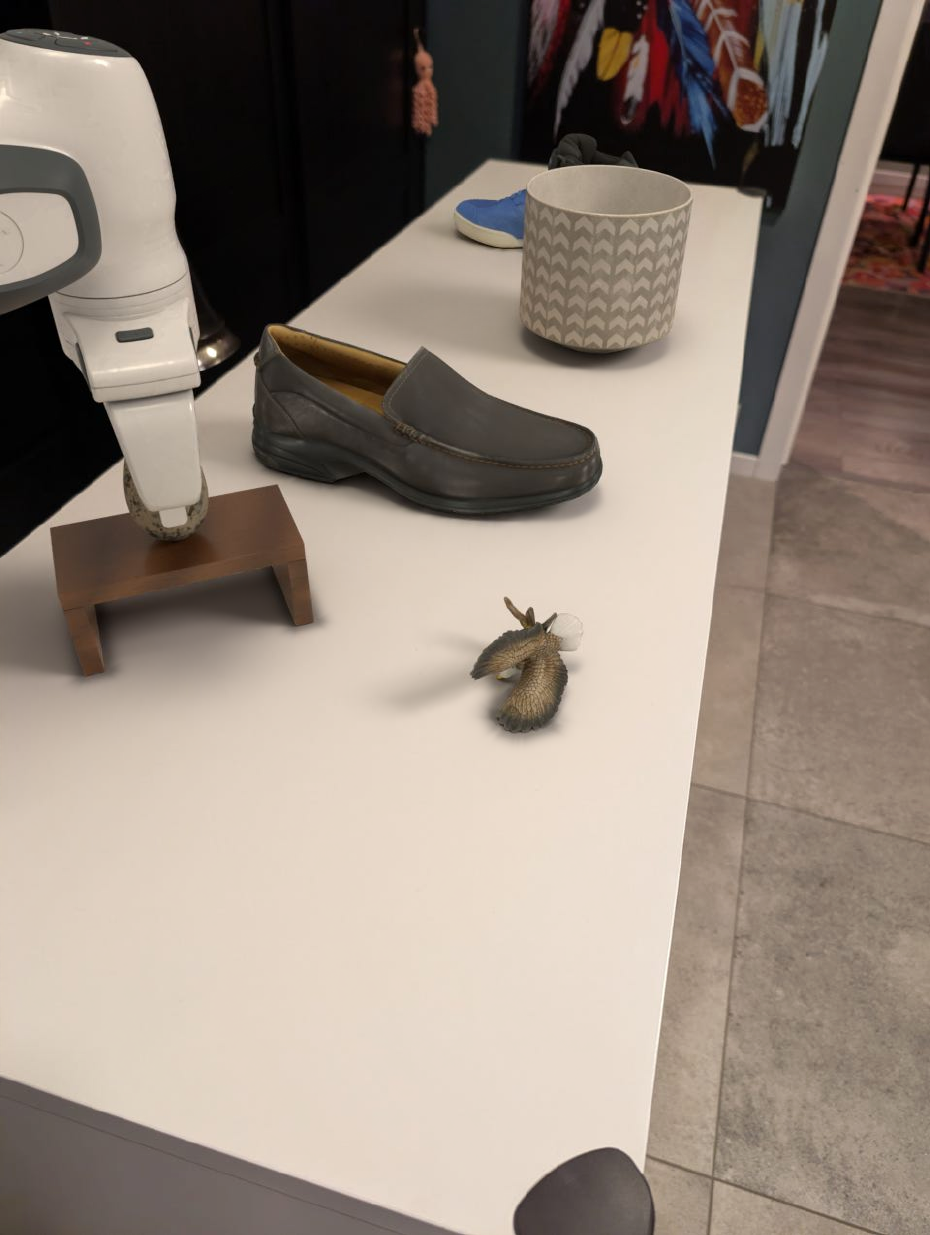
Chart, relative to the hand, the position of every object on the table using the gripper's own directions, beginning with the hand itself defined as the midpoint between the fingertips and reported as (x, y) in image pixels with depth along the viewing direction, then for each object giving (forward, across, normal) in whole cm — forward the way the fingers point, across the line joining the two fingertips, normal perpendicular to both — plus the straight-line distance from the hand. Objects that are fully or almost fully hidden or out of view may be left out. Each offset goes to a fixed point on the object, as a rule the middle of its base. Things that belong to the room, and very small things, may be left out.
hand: (166, 495), depth 72 cm
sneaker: (+12, -70, +65) cm, 96 cm away
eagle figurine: (+12, +18, +22) cm, 30 cm away
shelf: (+12, 0, 0) cm, 12 cm away
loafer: (+12, -14, +25) cm, 31 cm away
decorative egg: (+4, 0, 0) cm, 4 cm away
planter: (+12, -36, +56) cm, 68 cm away
